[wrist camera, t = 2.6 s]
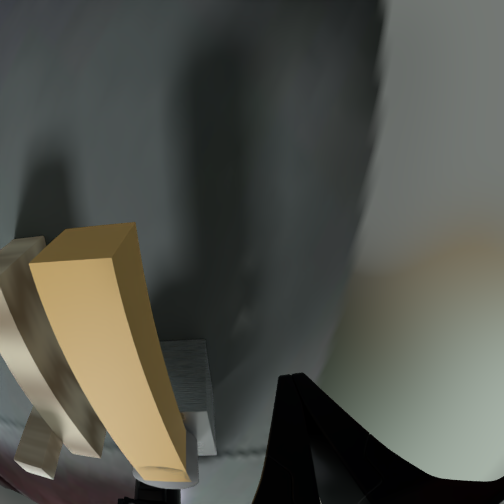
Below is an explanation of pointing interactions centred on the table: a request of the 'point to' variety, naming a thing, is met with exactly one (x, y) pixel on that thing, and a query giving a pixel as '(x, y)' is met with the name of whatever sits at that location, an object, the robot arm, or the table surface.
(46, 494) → the table surface
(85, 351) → the bar
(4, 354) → the grey-beige crossed blocks
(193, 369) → the jamb post
